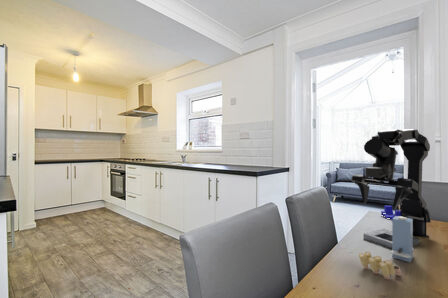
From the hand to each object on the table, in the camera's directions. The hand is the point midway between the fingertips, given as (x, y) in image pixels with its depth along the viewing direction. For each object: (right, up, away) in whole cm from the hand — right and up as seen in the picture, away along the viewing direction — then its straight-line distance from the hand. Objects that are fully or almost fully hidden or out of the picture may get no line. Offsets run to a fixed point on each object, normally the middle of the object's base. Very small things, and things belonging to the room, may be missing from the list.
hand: (378, 206), depth 77 cm
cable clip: (+33, -17, +38) cm, 53 cm away
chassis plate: (+11, -16, +9) cm, 21 cm away
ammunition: (-10, -16, -14) cm, 23 cm away
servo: (+5, -16, -5) cm, 17 cm away
